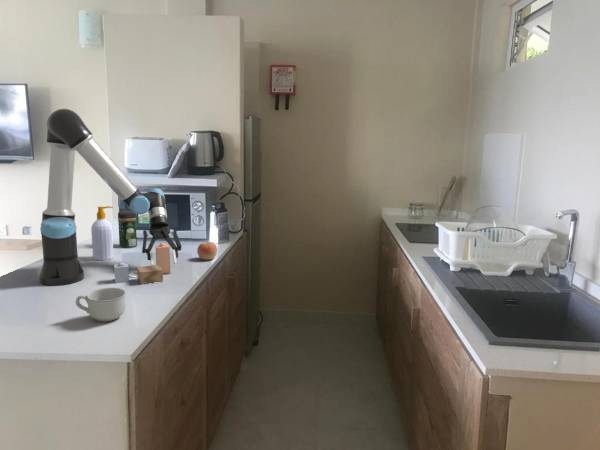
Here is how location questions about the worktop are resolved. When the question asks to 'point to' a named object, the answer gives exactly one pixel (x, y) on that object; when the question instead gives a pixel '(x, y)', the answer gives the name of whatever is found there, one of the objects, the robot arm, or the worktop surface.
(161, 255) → the terracotta brick
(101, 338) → the worktop surface
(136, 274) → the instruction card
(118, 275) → the slate brick
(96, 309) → the teacup
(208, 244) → the apple
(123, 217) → the coffee jar
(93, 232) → the soap bottle
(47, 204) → the robot arm
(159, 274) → the base block
